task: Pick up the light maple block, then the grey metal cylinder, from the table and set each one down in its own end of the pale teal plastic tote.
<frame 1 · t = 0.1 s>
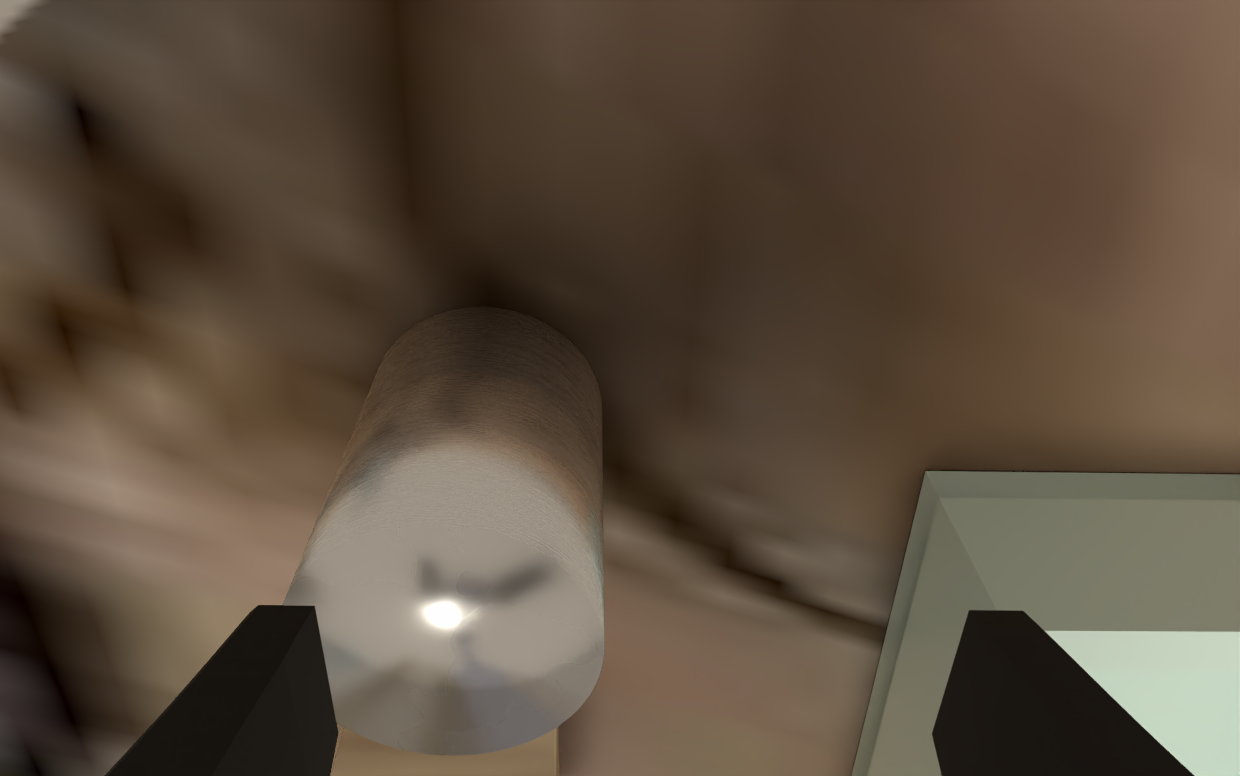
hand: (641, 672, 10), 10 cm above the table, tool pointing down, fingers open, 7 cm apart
tote: (1107, 731, 26), on the table
metal cylinder: (488, 409, 20), on the table
maple block: (467, 714, 26), on the table
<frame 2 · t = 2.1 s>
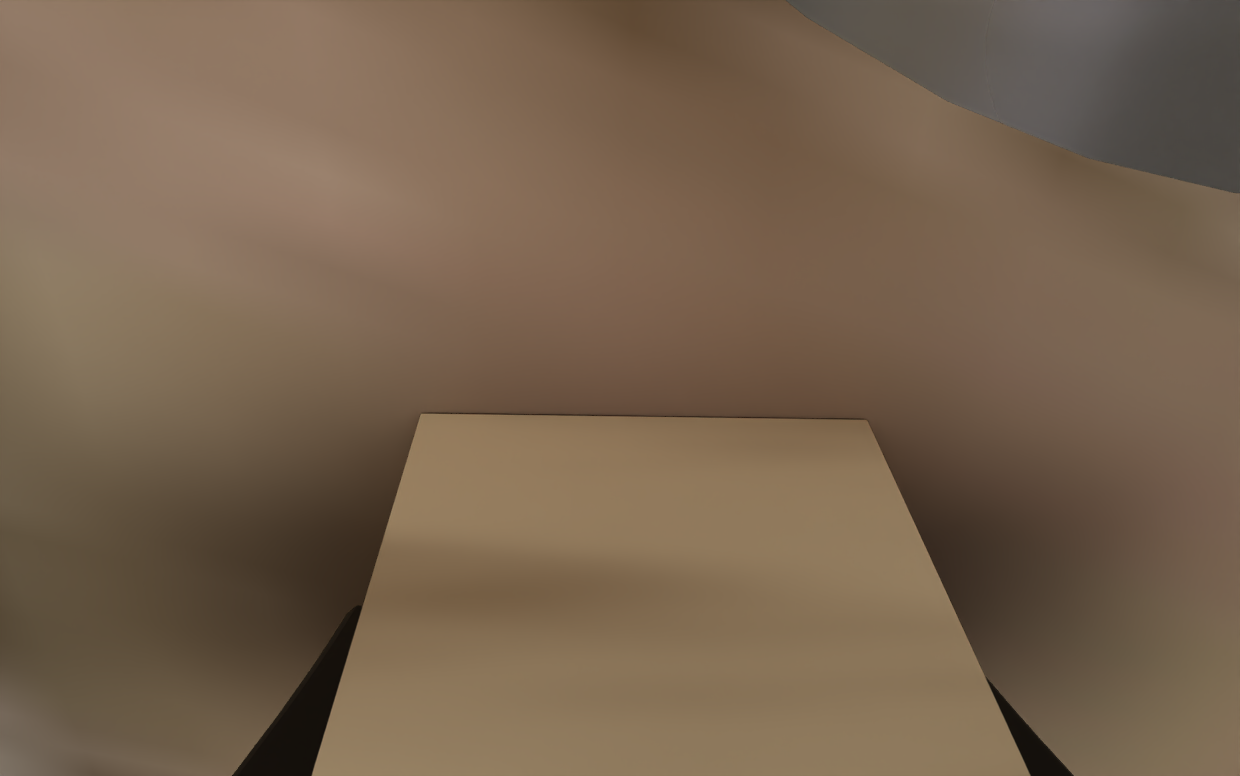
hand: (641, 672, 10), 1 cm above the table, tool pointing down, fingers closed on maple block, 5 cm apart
maple block: (636, 584, 12), on the table, touching gripper
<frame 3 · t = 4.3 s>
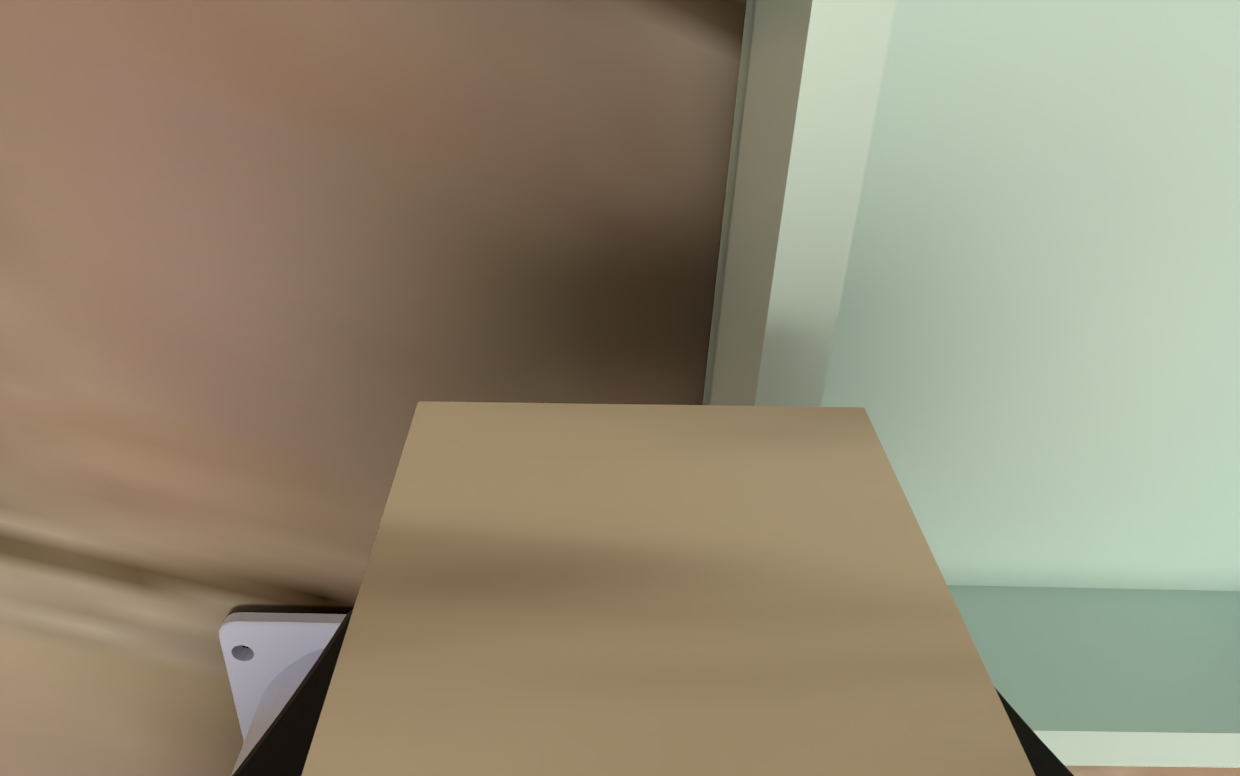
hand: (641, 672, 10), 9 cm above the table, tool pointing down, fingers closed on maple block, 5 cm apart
tote: (1081, 240, 18), on the table
maple block: (634, 573, 12), point 8 cm above the table, touching gripper
when the fingers open (3 cm above the table, at t = 6.7 s): maple block stays where it is, resting on tote.
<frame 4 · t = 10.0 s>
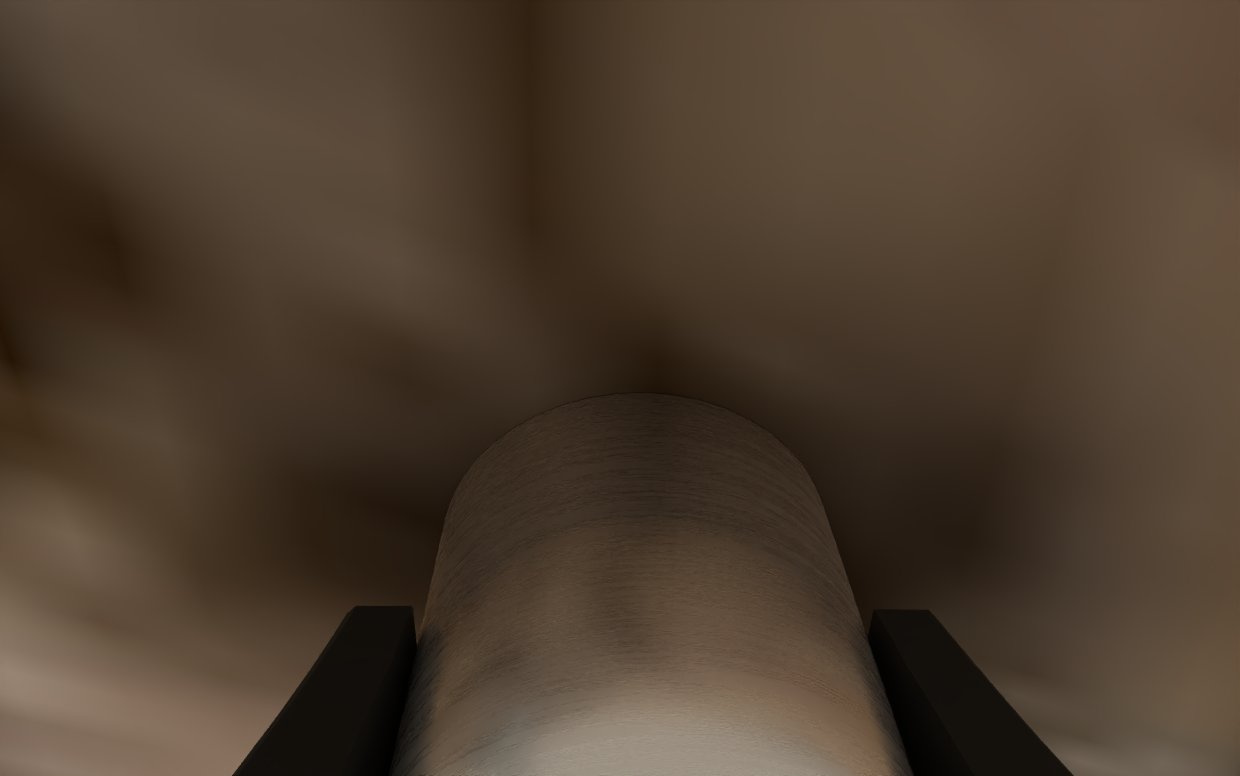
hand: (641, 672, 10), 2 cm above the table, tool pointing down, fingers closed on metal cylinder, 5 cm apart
metal cylinder: (635, 557, 12), on the table, touching gripper
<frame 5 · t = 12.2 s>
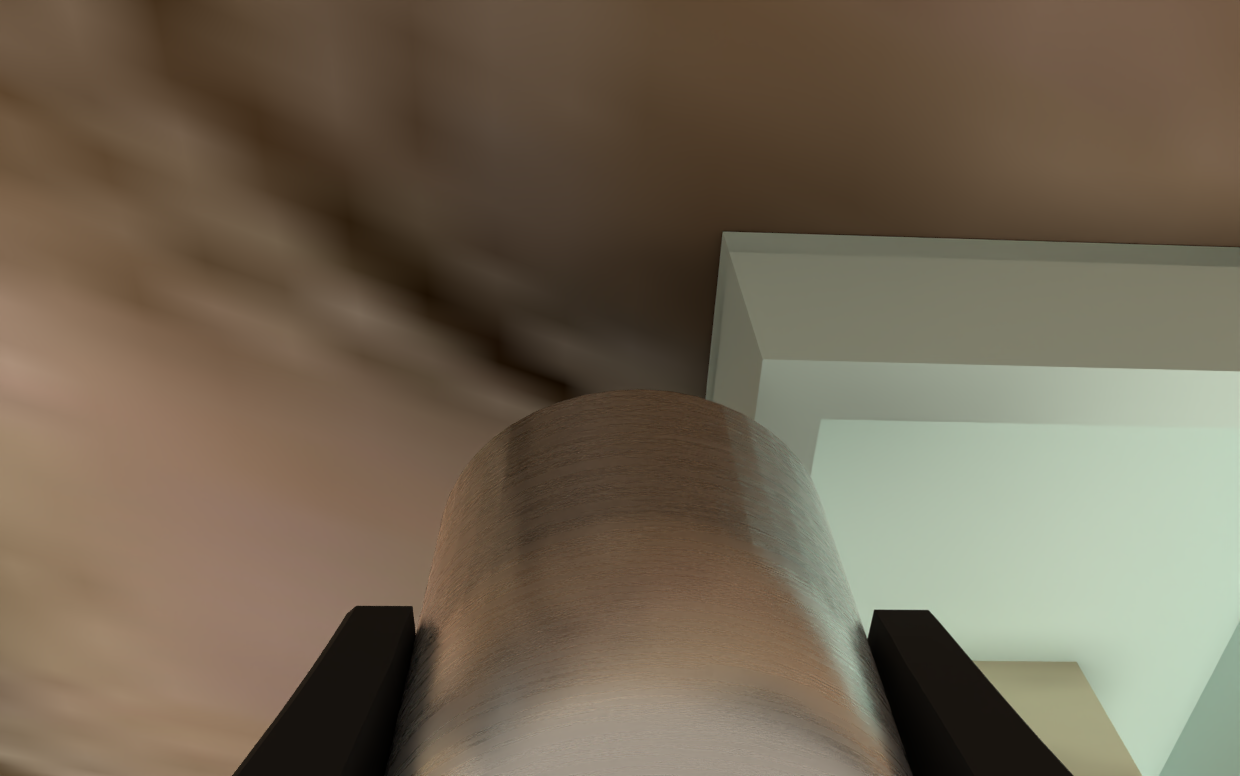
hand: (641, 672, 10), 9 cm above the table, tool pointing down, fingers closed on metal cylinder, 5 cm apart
tote: (973, 590, 23), on the table
metal cylinder: (633, 554, 12), point 7 cm above the table, touching gripper
maple block: (952, 730, 24), point 1 cm above the table, touching tote
when the fingers open (4 cm above the table, at t = 14.5 s): metal cylinder stays where it is, resting on tote.
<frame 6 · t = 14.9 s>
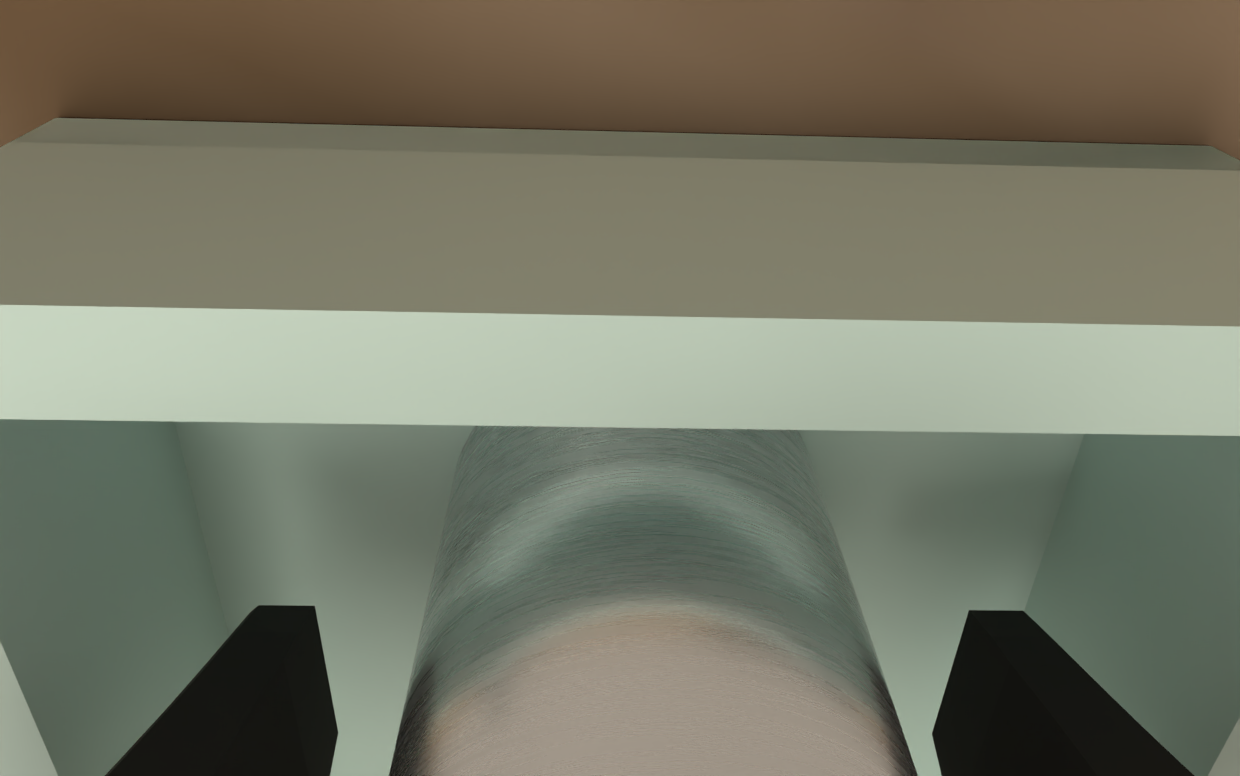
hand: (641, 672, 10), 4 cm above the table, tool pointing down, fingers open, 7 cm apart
tote: (622, 659, 16), on the table
metal cylinder: (633, 507, 13), point 1 cm above the table, touching tote
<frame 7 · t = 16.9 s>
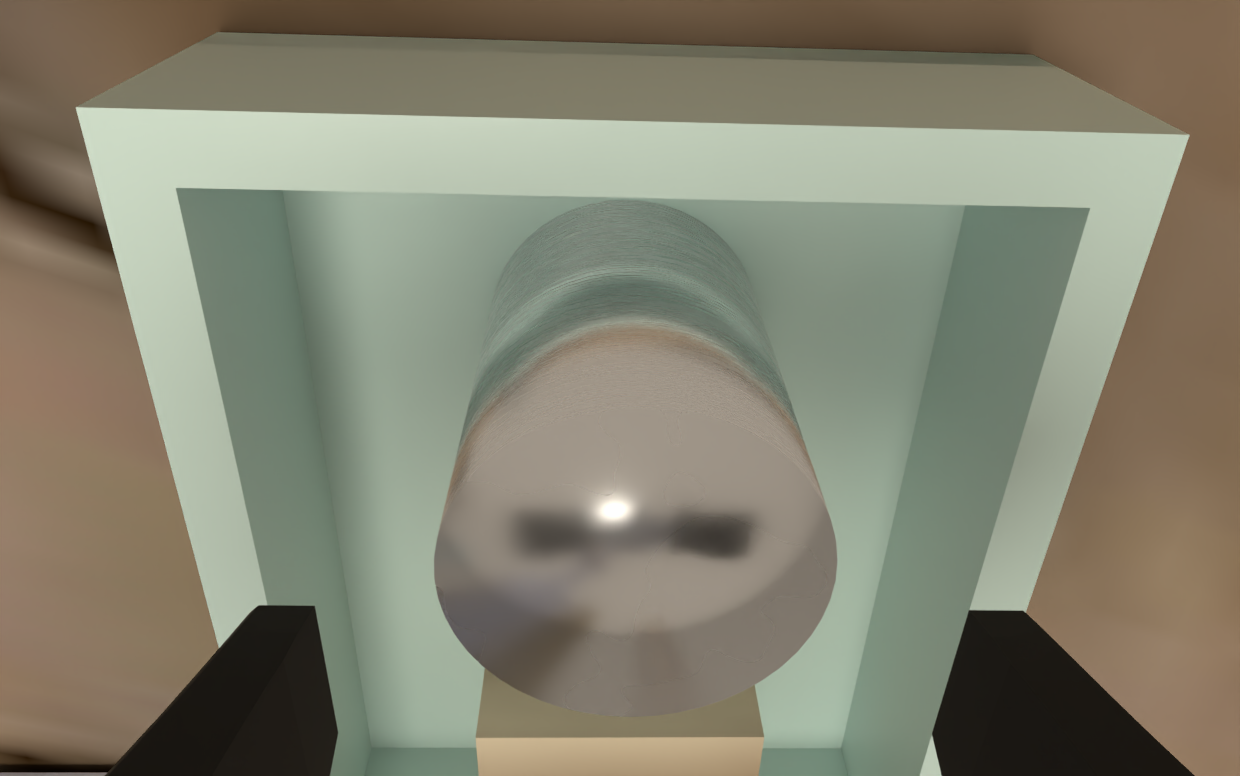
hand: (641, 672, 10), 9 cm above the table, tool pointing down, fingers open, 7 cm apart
tote: (616, 470, 21), on the table
metal cylinder: (623, 327, 18), point 1 cm above the table, touching tote
maple block: (613, 630, 22), point 1 cm above the table, touching tote
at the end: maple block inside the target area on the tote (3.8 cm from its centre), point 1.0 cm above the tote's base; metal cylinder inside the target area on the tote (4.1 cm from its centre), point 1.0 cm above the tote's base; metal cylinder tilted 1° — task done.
